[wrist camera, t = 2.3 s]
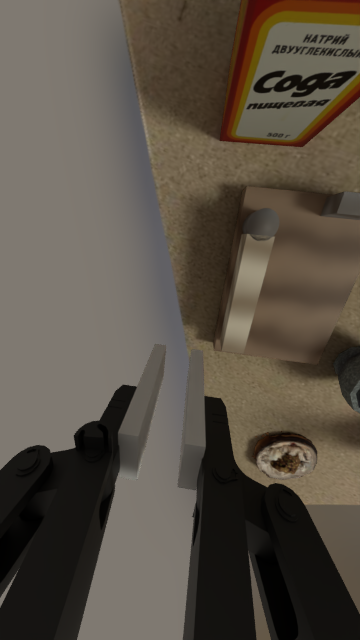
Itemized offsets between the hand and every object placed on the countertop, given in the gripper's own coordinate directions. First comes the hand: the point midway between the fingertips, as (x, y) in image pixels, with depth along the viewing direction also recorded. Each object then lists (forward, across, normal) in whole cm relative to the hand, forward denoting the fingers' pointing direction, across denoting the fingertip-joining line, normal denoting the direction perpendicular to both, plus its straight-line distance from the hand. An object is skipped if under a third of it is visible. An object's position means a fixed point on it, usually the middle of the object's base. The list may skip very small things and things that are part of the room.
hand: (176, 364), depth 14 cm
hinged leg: (+16, +7, +3) cm, 17 cm away
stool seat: (+18, +13, +3) cm, 23 cm away
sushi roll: (+19, +24, -32) cm, 44 cm away
